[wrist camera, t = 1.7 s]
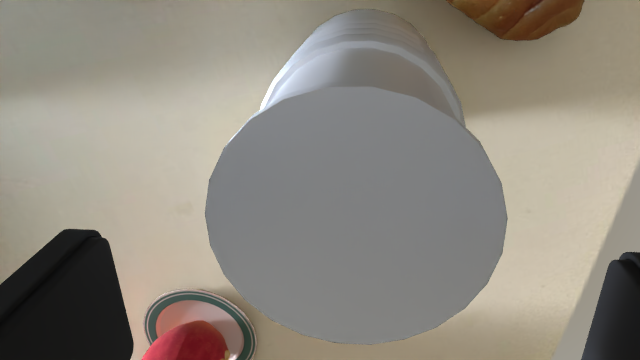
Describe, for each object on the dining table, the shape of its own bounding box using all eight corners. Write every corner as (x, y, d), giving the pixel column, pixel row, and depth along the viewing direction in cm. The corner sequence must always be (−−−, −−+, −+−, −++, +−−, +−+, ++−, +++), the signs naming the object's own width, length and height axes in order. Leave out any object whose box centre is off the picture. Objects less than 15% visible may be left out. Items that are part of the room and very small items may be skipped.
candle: (354, 161, 26) (331, 385, 13) (271, 63, 24) (141, 205, 11) (462, 86, 24) (572, 264, 10) (378, -30, 22) (382, 5, 8)
